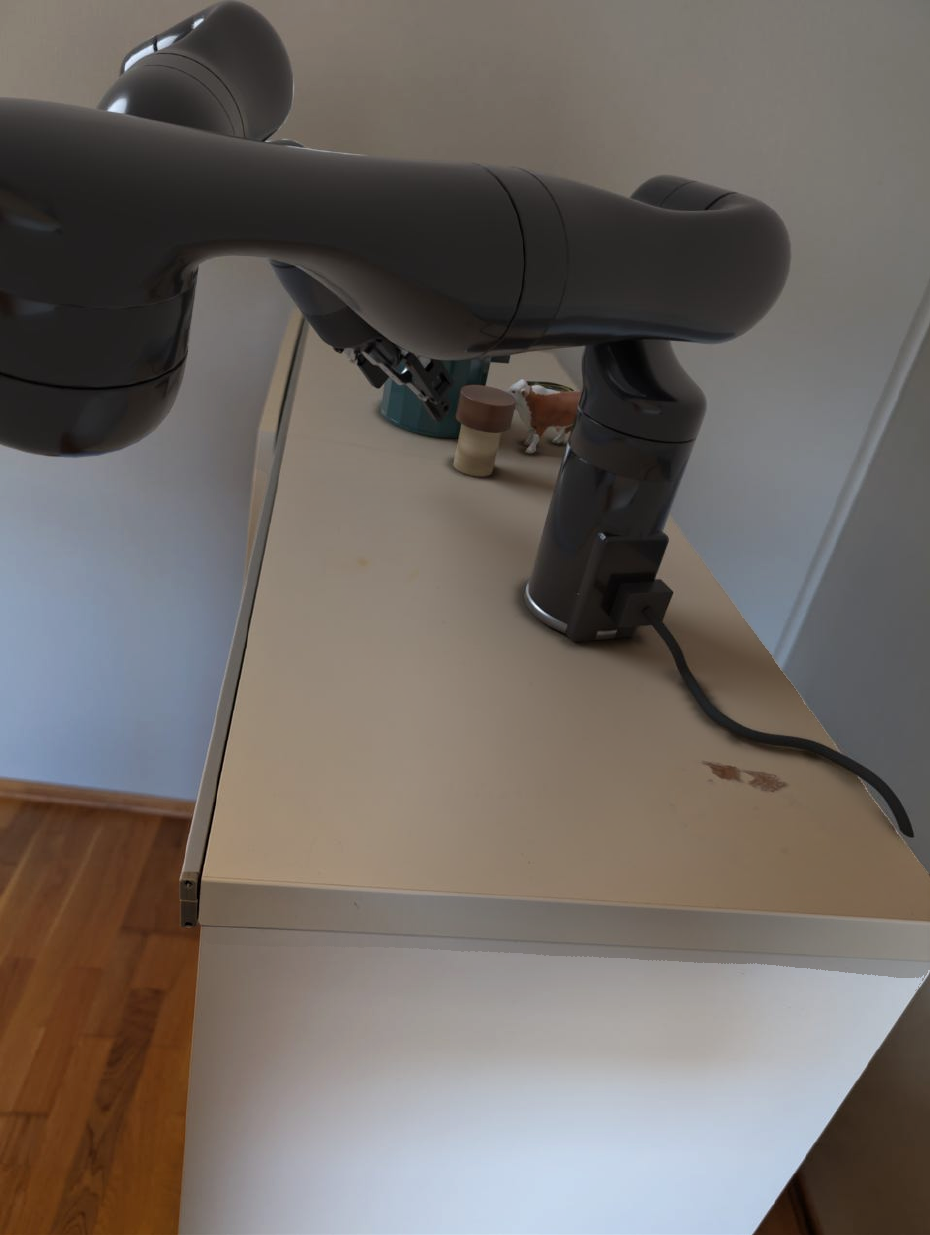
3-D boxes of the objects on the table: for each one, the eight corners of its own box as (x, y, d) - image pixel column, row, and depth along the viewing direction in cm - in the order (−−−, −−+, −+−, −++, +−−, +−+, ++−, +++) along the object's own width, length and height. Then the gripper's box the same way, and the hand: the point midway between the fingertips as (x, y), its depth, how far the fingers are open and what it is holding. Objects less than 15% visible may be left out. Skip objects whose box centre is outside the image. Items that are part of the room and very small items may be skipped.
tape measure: (555, 405, 119) (562, 379, 118) (580, 424, 114) (587, 397, 113) (512, 403, 116) (519, 376, 115) (535, 423, 112) (542, 395, 110)
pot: (510, 440, 105) (529, 363, 100) (376, 435, 97) (389, 352, 92) (473, 403, 113) (488, 331, 108) (347, 396, 106) (357, 319, 101)
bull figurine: (486, 439, 103) (500, 373, 99) (579, 440, 109) (596, 378, 105) (502, 455, 100) (518, 387, 96) (597, 455, 106) (616, 391, 102)
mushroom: (508, 480, 94) (525, 407, 90) (458, 480, 92) (474, 404, 87) (486, 457, 99) (502, 386, 94) (438, 456, 96) (452, 383, 92)
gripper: (249, 283, 72) (340, 399, 86) (360, 339, 64) (440, 456, 78) (306, 216, 72) (387, 343, 86) (422, 265, 65) (490, 394, 79)
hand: (412, 397), depth 82 cm, fingers open, 8 cm apart
